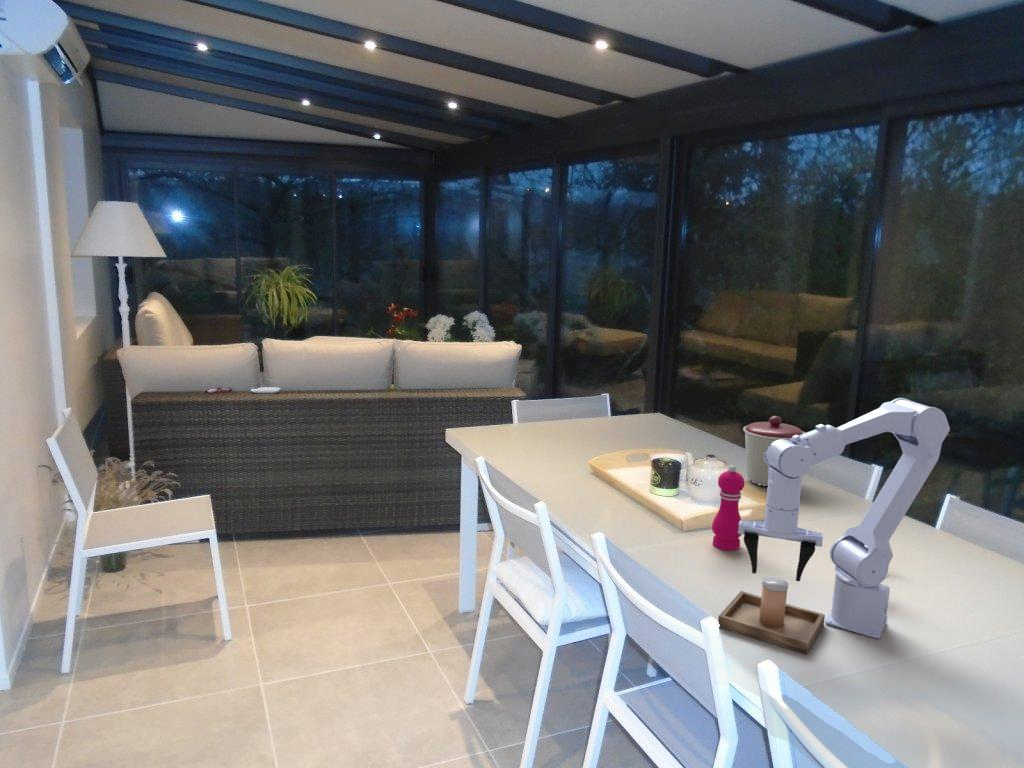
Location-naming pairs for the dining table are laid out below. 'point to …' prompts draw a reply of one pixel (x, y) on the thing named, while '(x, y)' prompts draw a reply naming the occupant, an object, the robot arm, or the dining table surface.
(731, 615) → the walnut tray
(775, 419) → the canister
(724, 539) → the pepper mill
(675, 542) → the dining table surface
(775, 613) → the terracotta shaker
